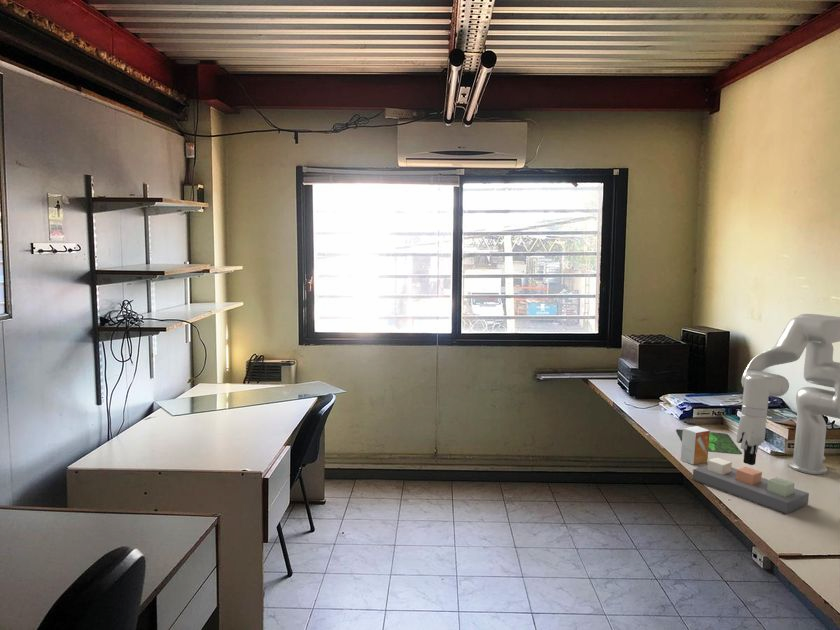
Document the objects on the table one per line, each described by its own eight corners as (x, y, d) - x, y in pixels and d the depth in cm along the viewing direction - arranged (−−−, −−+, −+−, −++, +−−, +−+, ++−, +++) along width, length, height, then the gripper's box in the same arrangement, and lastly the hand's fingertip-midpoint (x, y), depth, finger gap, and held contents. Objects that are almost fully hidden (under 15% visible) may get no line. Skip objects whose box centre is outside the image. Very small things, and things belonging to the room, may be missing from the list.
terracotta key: (744, 480, 207) (745, 466, 206) (760, 486, 202) (761, 472, 202) (735, 483, 204) (736, 469, 203) (751, 489, 199) (753, 475, 199)
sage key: (775, 491, 198) (776, 476, 198) (793, 497, 194) (794, 482, 193) (766, 494, 195) (768, 480, 195) (784, 501, 191) (786, 486, 190)
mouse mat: (744, 455, 240) (744, 453, 240) (685, 450, 245) (686, 448, 245) (726, 435, 266) (727, 432, 266) (674, 430, 271) (674, 428, 271)
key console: (714, 472, 221) (715, 462, 220) (807, 504, 194) (808, 493, 193) (692, 479, 213) (693, 469, 213) (786, 514, 186) (787, 502, 186)
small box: (693, 465, 227) (696, 432, 226) (679, 459, 233) (682, 428, 231) (708, 462, 231) (710, 430, 229) (694, 457, 237) (696, 425, 235)
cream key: (715, 470, 216) (716, 457, 215) (730, 475, 211) (731, 462, 211) (706, 473, 213) (707, 460, 212) (721, 478, 208) (723, 465, 208)
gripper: (754, 406, 207) (749, 456, 209) (731, 411, 199) (726, 463, 201) (777, 411, 201) (771, 463, 203) (753, 417, 193) (748, 471, 195)
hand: (749, 463), depth 202 cm, fingers closed
